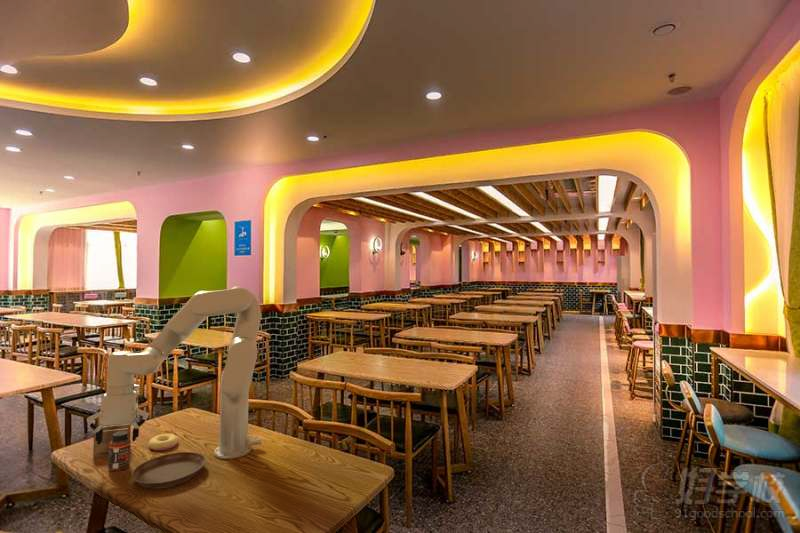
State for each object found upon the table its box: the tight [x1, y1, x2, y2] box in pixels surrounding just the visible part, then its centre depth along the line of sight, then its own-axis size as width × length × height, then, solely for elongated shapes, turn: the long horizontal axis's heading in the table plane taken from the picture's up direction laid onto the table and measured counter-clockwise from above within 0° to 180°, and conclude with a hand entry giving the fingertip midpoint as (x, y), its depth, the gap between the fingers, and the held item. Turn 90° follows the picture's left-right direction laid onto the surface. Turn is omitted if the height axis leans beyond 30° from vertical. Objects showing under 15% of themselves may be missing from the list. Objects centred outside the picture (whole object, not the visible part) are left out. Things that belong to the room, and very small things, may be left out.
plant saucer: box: [131, 451, 206, 490], centre depth 132 cm, size 21×21×3 cm
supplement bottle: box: [107, 431, 132, 472], centre depth 136 cm, size 6×6×11 cm
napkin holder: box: [92, 424, 132, 458], centre depth 147 cm, size 10×5×9 cm, turn 113°
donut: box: [148, 433, 179, 452], centre depth 153 cm, size 10×5×9 cm
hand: (117, 441), depth 136 cm, fingers open, 9 cm apart
